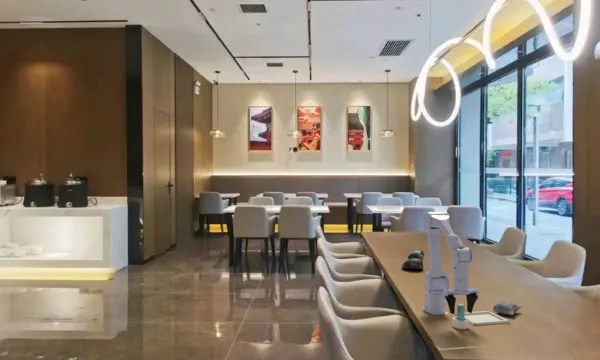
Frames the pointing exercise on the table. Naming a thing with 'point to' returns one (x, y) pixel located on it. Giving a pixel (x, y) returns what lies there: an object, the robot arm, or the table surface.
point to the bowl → (460, 323)
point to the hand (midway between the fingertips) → (460, 312)
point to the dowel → (460, 312)
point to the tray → (484, 318)
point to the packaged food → (506, 308)
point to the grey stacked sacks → (414, 261)
